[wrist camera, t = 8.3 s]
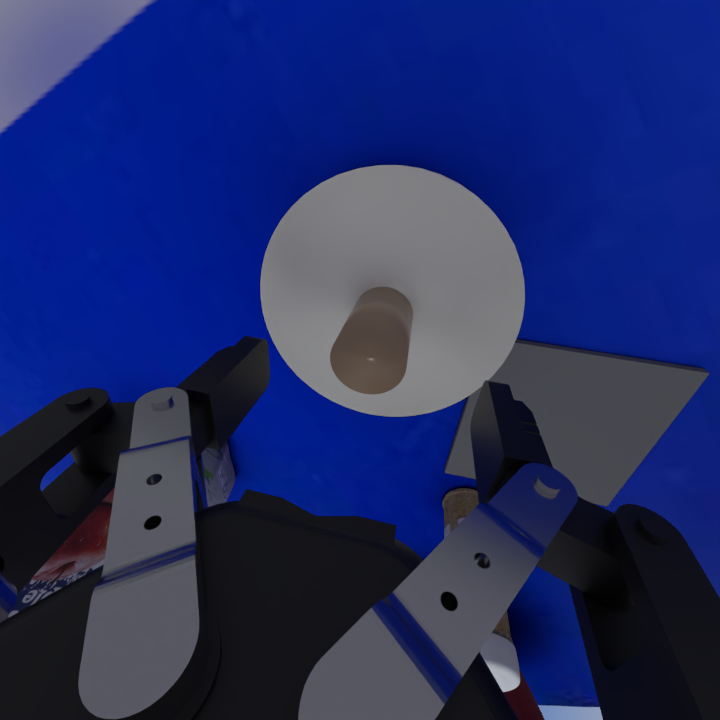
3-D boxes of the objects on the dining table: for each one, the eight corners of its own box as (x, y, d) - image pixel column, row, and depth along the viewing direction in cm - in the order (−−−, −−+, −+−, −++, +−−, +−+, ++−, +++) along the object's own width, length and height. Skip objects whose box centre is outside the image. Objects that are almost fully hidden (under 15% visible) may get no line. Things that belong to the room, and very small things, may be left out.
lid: (563, 177, 14) (636, 187, 9) (480, 421, 22) (495, 503, 17) (258, 153, 16) (174, 150, 11) (277, 386, 24) (232, 451, 18)
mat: (703, 368, 22) (709, 373, 22) (604, 500, 29) (607, 506, 29) (487, 334, 24) (488, 338, 23) (444, 467, 31) (444, 472, 31)
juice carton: (247, 484, 38) (-27, 960, 16) (164, 469, 40) (-195, 882, 17) (234, 426, 34) (-182, 982, 11) (141, 411, 35) (-393, 872, 12)
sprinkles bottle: (433, 500, 34) (432, 673, 22) (464, 478, 31) (481, 658, 20) (468, 521, 34) (485, 699, 23) (501, 501, 32) (538, 689, 21)
